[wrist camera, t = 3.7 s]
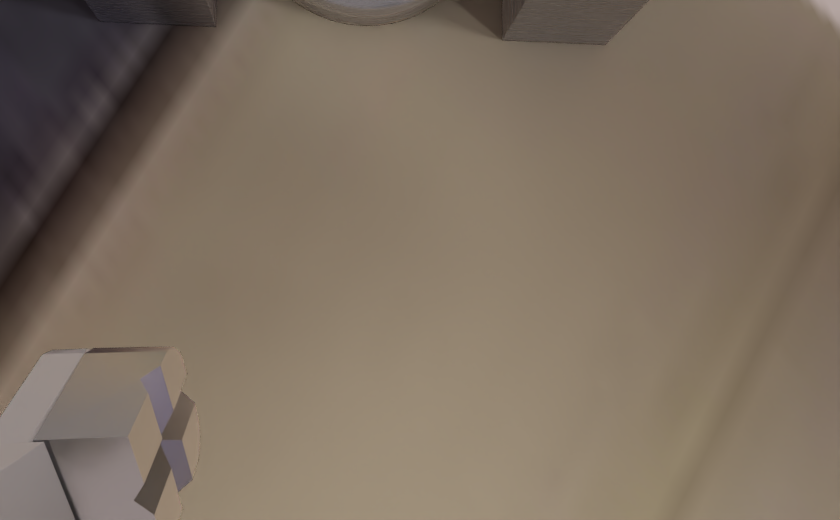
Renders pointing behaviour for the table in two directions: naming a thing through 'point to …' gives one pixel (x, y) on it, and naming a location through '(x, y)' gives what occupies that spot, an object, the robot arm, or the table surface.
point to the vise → (521, 17)
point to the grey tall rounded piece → (367, 10)
